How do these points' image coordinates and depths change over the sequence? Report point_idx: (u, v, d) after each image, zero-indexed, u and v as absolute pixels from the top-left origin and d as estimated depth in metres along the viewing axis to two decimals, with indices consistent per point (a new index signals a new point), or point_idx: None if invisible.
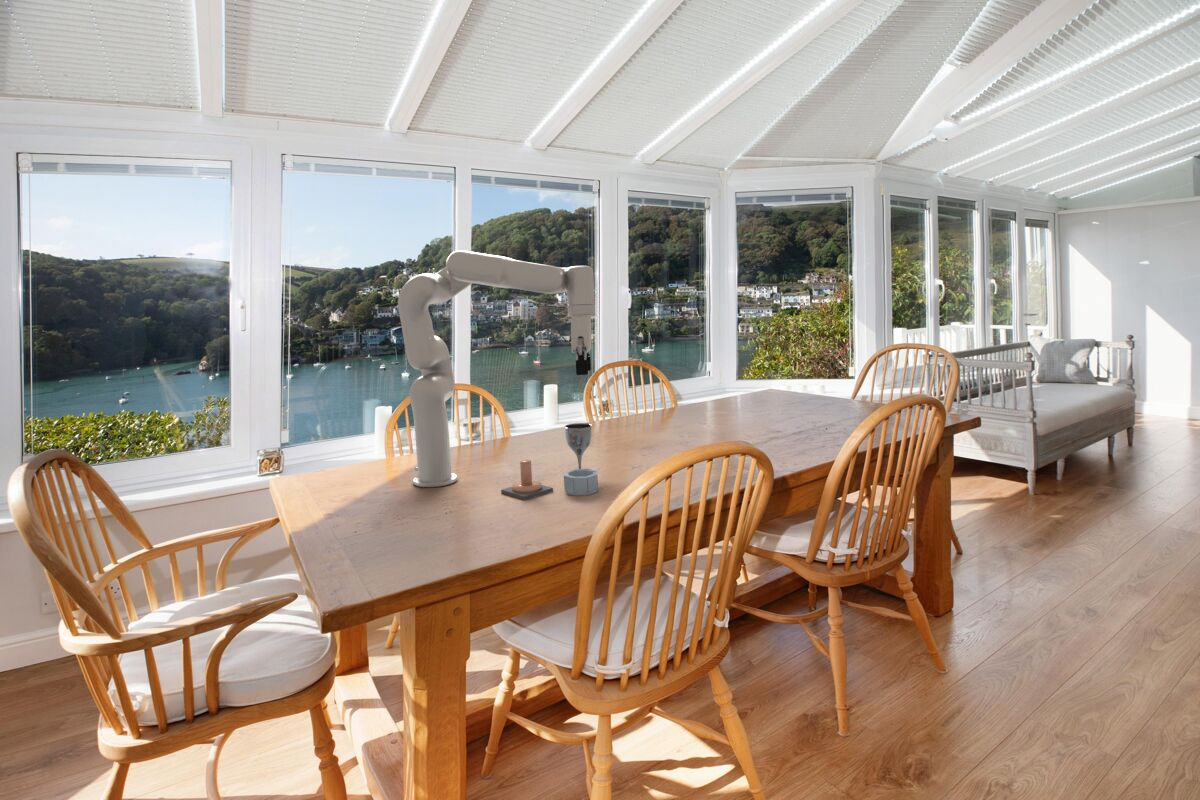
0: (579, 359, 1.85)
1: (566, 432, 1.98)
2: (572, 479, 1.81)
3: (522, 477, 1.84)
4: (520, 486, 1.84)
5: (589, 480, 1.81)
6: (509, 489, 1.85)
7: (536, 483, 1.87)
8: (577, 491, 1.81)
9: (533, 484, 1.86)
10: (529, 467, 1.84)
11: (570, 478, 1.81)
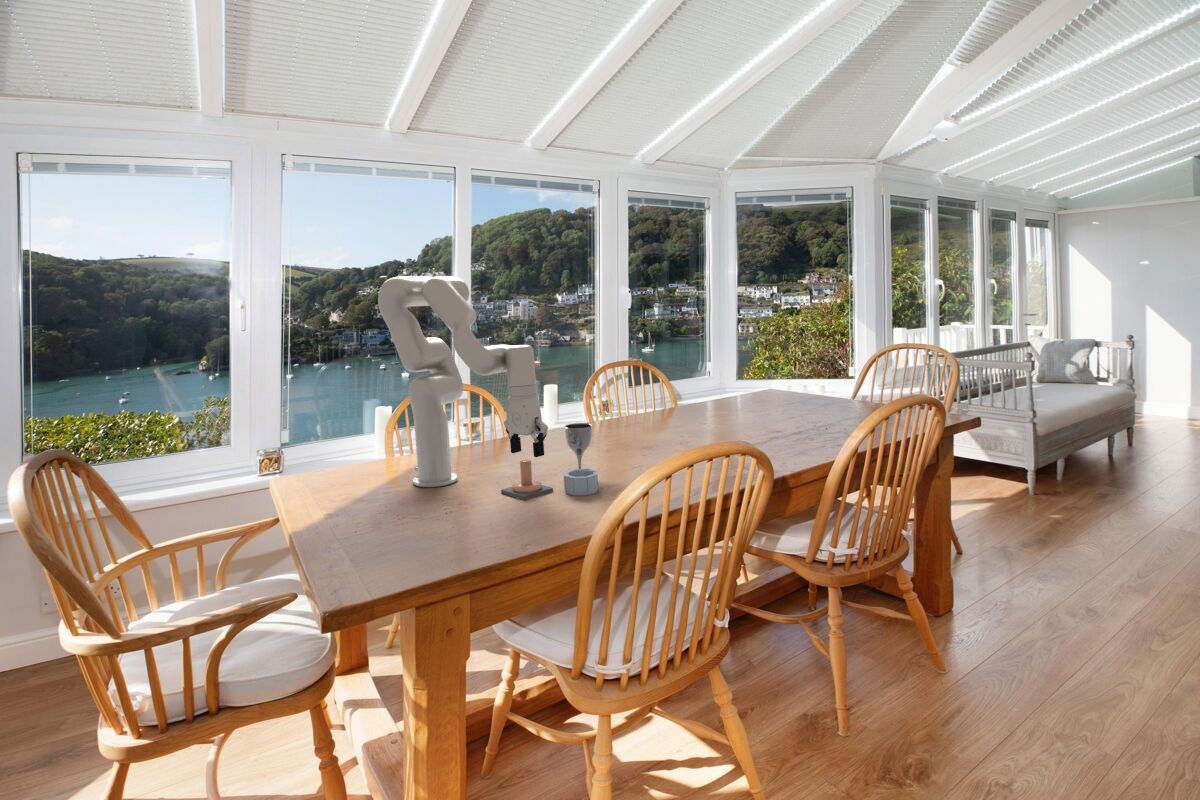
0: (539, 441, 1.79)
1: (566, 432, 1.98)
2: (572, 479, 1.81)
3: (522, 477, 1.84)
4: (520, 486, 1.84)
5: (589, 480, 1.81)
6: (509, 489, 1.85)
7: (536, 483, 1.87)
8: (577, 491, 1.81)
9: (533, 484, 1.86)
10: (529, 467, 1.84)
11: (570, 478, 1.81)
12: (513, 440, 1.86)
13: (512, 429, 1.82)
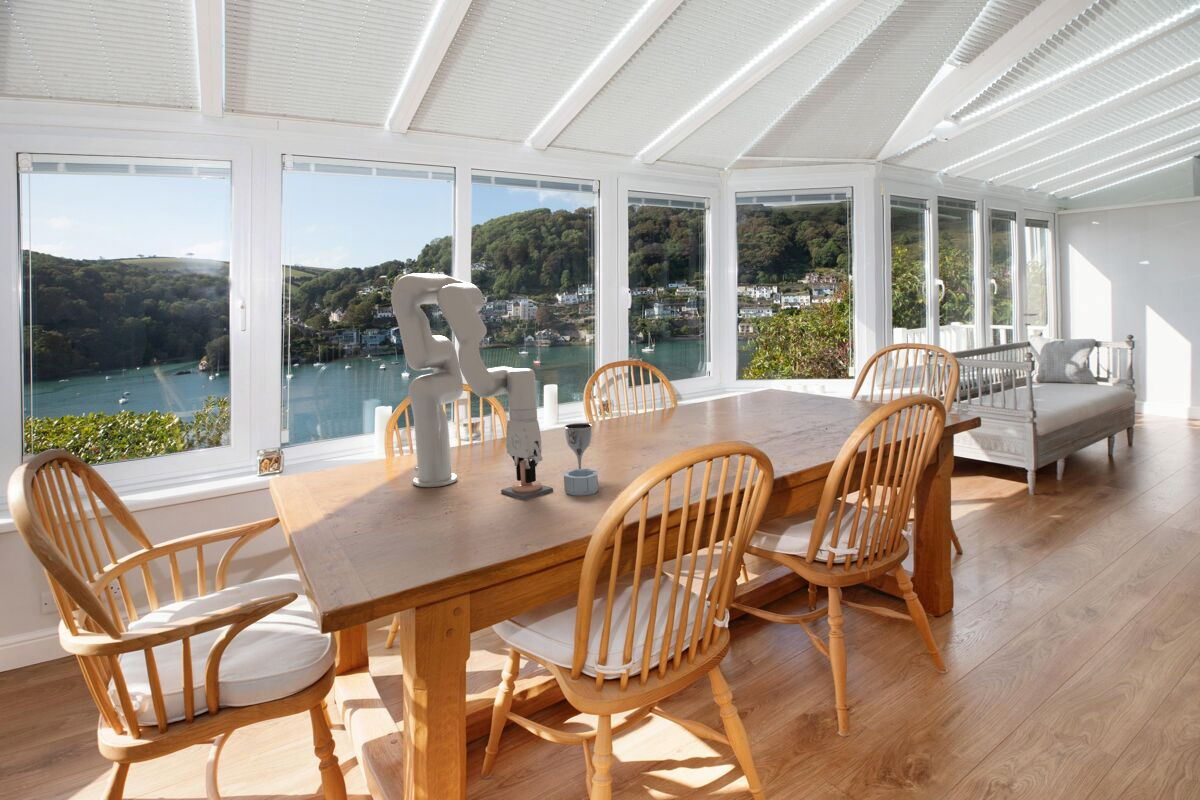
0: (531, 468, 1.83)
1: (566, 432, 1.98)
2: (572, 479, 1.81)
3: (522, 477, 1.84)
4: (520, 486, 1.84)
5: (589, 480, 1.81)
6: (509, 489, 1.85)
7: (535, 483, 1.87)
8: (577, 491, 1.81)
9: (533, 484, 1.86)
10: None
11: (570, 478, 1.81)
12: (519, 468, 1.85)
13: (512, 451, 1.84)
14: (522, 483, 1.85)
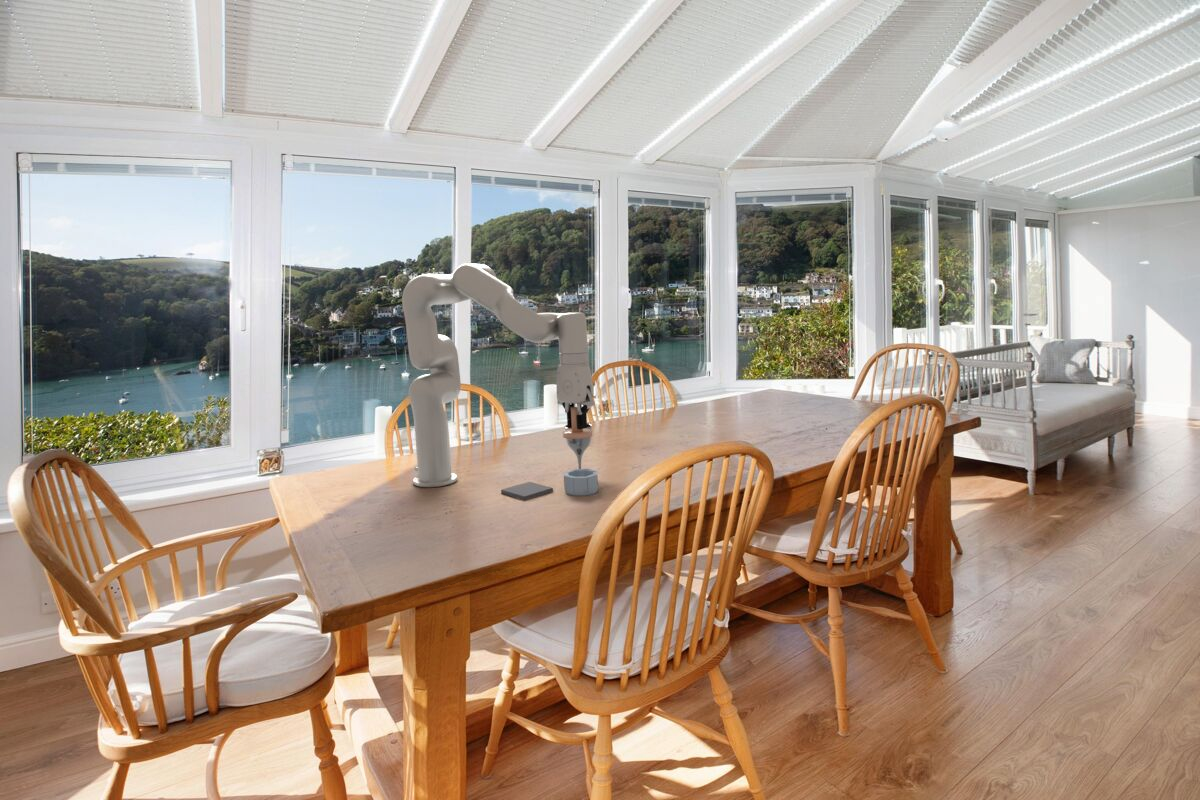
0: (582, 414, 1.80)
1: None
2: (572, 479, 1.81)
3: (573, 423, 1.81)
4: (571, 432, 1.81)
5: (589, 480, 1.81)
6: (509, 489, 1.85)
7: (586, 430, 1.84)
8: (577, 491, 1.81)
9: (584, 431, 1.83)
10: None
11: (570, 478, 1.81)
12: (570, 415, 1.83)
13: (563, 397, 1.81)
14: (573, 430, 1.82)
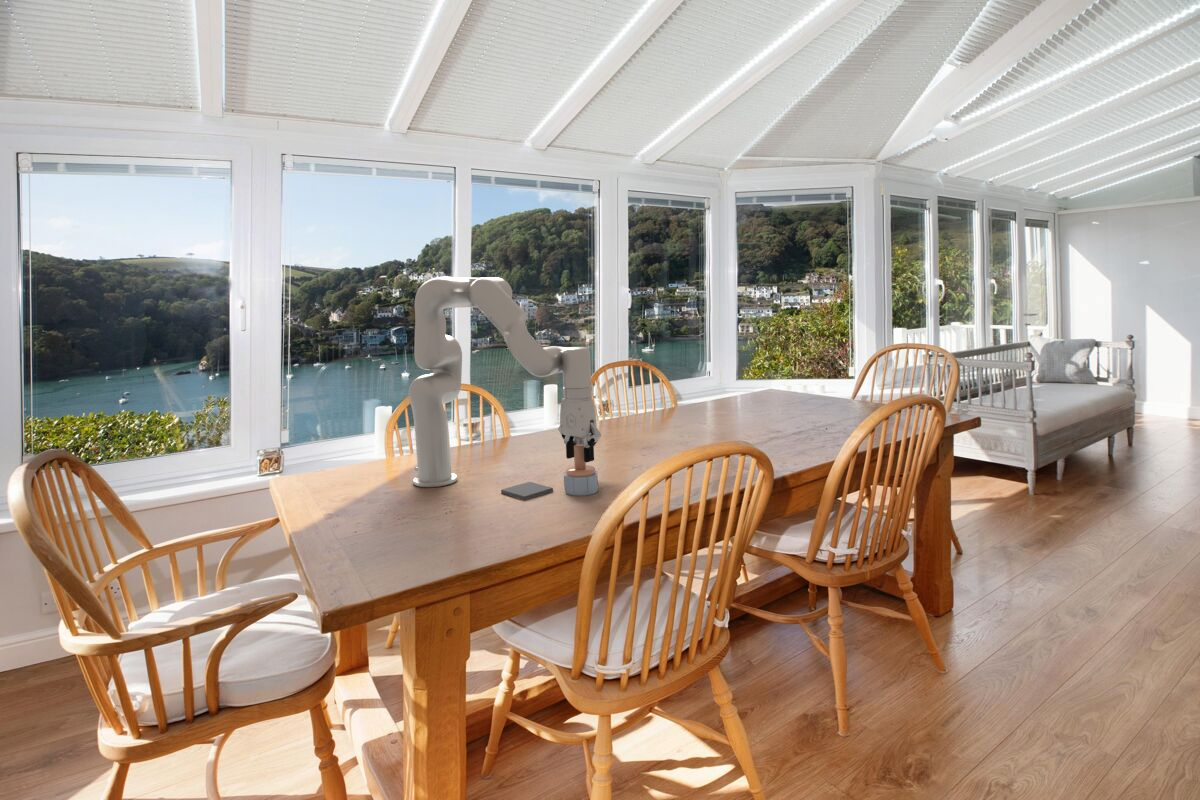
0: (590, 447, 1.80)
1: None
2: (572, 479, 1.81)
3: (576, 461, 1.83)
4: (574, 470, 1.83)
5: (589, 480, 1.81)
6: (509, 489, 1.85)
7: (589, 467, 1.85)
8: (577, 491, 1.81)
9: (587, 468, 1.84)
10: (583, 451, 1.83)
11: (570, 478, 1.81)
12: (569, 445, 1.85)
13: (566, 430, 1.82)
14: (576, 467, 1.83)
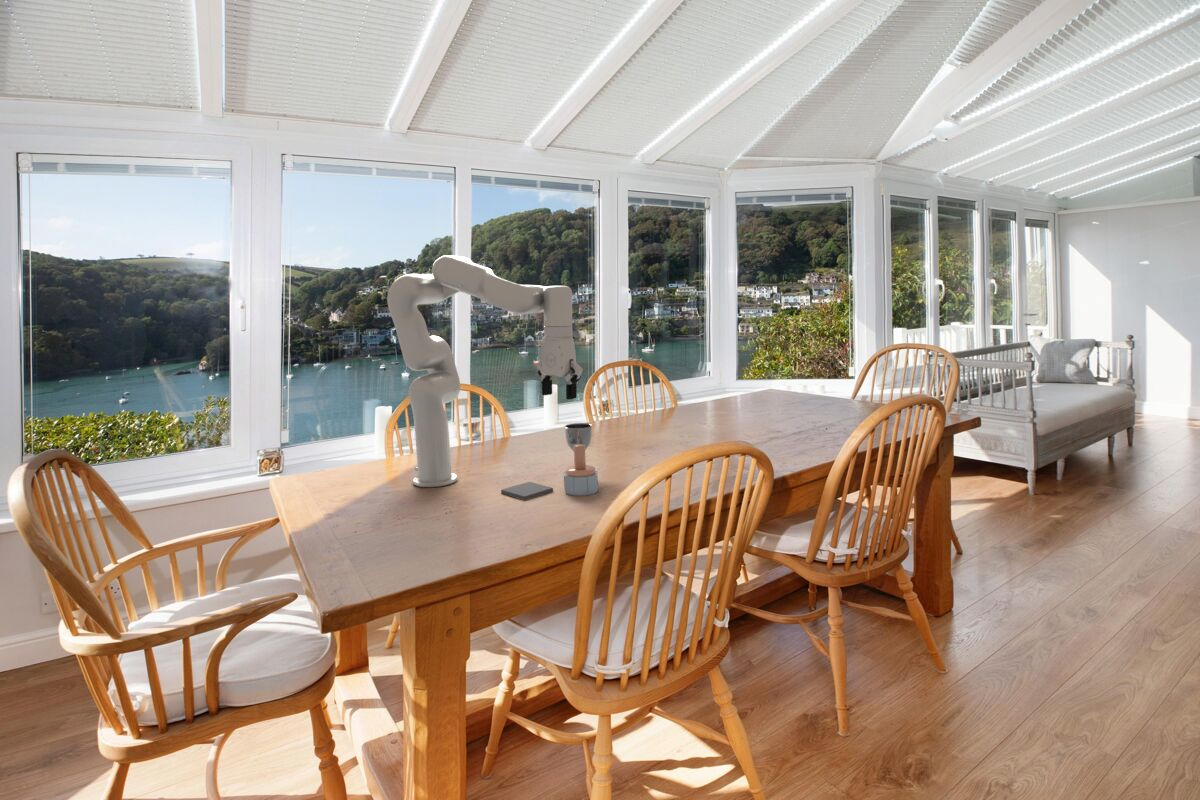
0: (573, 383, 1.78)
1: (566, 432, 1.98)
2: (572, 479, 1.81)
3: (576, 461, 1.83)
4: (574, 470, 1.83)
5: (589, 480, 1.81)
6: (509, 489, 1.85)
7: (589, 467, 1.85)
8: (577, 491, 1.81)
9: (587, 468, 1.84)
10: (583, 451, 1.83)
11: (570, 478, 1.81)
12: (545, 382, 1.85)
13: (546, 370, 1.81)
14: (576, 467, 1.83)
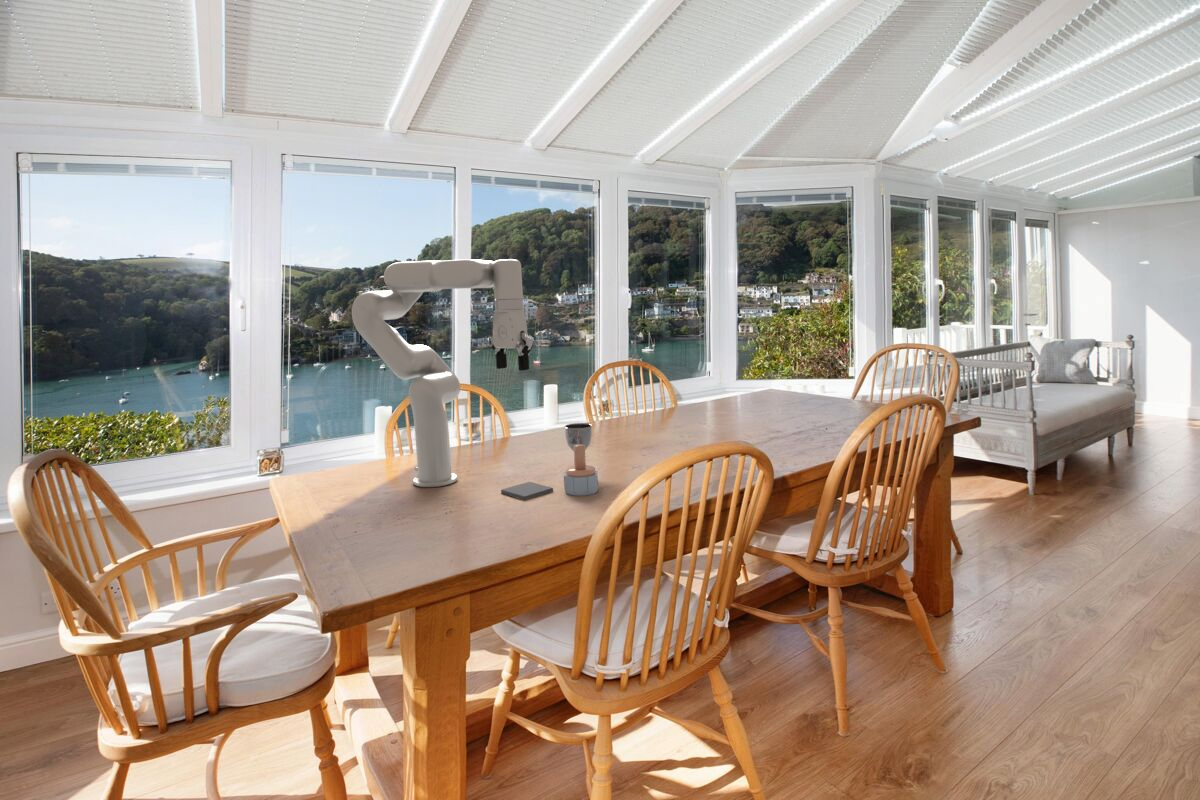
0: (524, 354, 1.81)
1: (566, 432, 1.98)
2: (572, 479, 1.81)
3: (576, 461, 1.83)
4: (574, 470, 1.83)
5: (589, 480, 1.81)
6: (509, 489, 1.85)
7: (589, 467, 1.85)
8: (577, 491, 1.81)
9: (587, 468, 1.84)
10: (583, 451, 1.83)
11: (570, 478, 1.81)
12: (499, 355, 1.88)
13: (498, 343, 1.85)
14: (576, 467, 1.83)
